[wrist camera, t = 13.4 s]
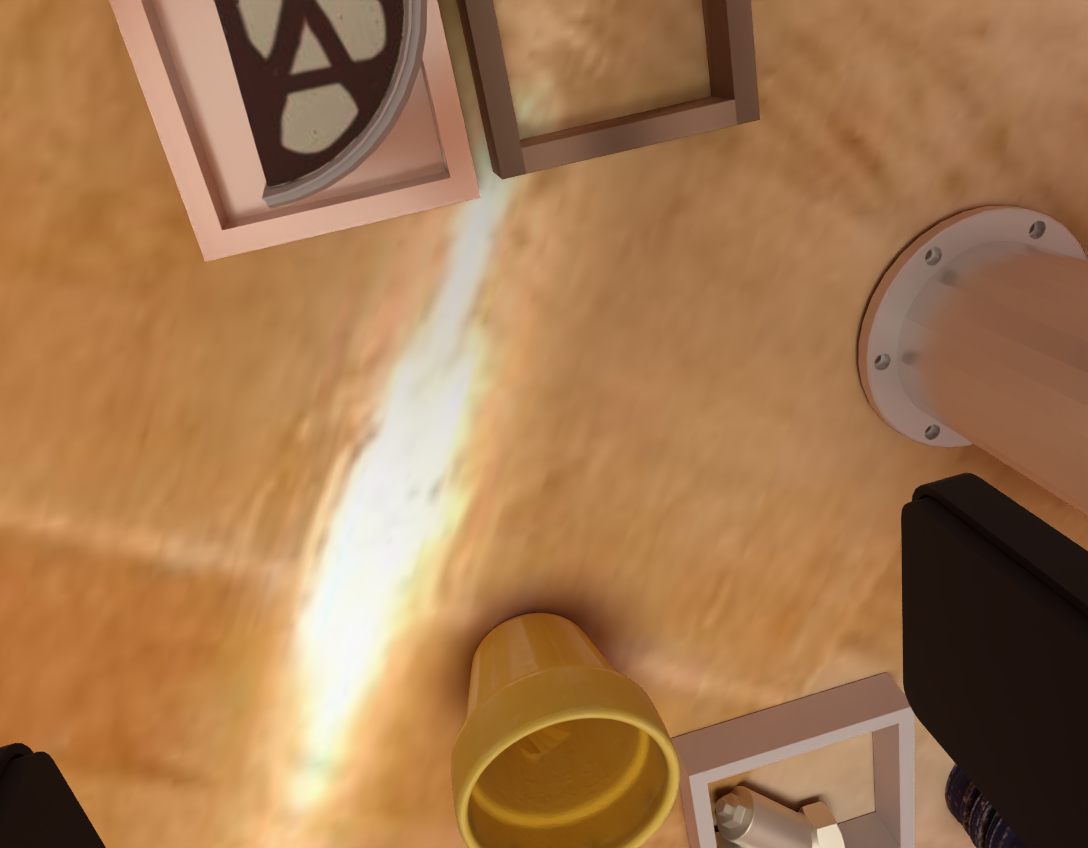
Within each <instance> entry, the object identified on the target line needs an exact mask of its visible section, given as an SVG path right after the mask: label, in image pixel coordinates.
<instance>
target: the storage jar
mask: <svg viewBox="0 0 1088 848" xmlns="http://www.w3.org/2000/svg"><path fill="white" fill-rule="evenodd" d="M945 798H946V803H947V806H948V808H949V810H950V812H951V813H952V814H953V816H954V817H955V818H956V819H957V820H958V822H959V823H961V824H962V825H963V827H964V829H965V831H966V832H967V833H968V835H969V836H970V838H971V840H972V842H973V844H974V845H975V846H976V848H1027V847H1026V846H1025V845H1024V844H1023V842H1022V841H1021V840H1020V839H1019V838H1018V836H1017V835H1016V834H1015V833H1014V832H1013V830H1012V829H1011V828H1010V827H1009V826H1008V825H1007V823H1006V822H1005V821H1004V820H1003V819H1002V817H1001V816H1000V815H999V814H998V813H997V812H996V810H995V809H994V808H993V807H992V806H991V804H990V803H989V802H988V801H987V800H986V799H985V797H984V796H983V795H982V794H981V793H980V791H979V790H978V789H977V788H976V787H975V786H974V784H973V783H972V782H971V781H970V780H969V778H968V777H967V776H966V775H965V774H964V773H963V771H962V770H961V769H960V768H959V767H958V765H957V764H955V766H954V768H953V769H952V771H951V773H950V776H949V778H948V781H947V785H946V789H945Z"/></svg>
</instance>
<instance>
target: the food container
mask: <svg viewBox="0 0 1088 848" xmlns="http://www.w3.org/2000/svg"><path fill="white" fill-rule="evenodd" d="M214 2H215V5H216V8H217V12H218V15H219V18H220V22H221V25H222V28H223V32H224V35H225V39H226V42H227V45H228V49H229V53H230V56H231V60H232V63H233V67H234V71H235V74H236V78H237V81H238V85H239V89H240V92H241V96H242V99H243V103H244V106H245V110H246V113H247V117H248V121H249V124H250V128H251V131H252V135H253V138H254V142H255V145H256V149H257V152H258V156H259V159H260V162H261V166H262V169H263V173H264V176H265V179H266V183H265V188H264V192H263V196H262V200H263V201H265V200H266V204H267V206H268V207H272V208H275V207H279V206H283V205H286V204H290V203H293V202H297V201H300V200H303V199H305V198H307V197H309V196H312V195H314V194H316V193H318V192H320V191H323V190H325V189H327V188H329V187H331V186H332V185H334V184H335V183H337V182H338V181H340V180H341V179H343V178H344V177H346V176H347V175H349V174H350V173H351V172H353V171H354V170H356V169H357V168H358V167H359V166H360V165H361V164H362V163H363V162H364V161H365V160H366V159H367V158H368V157H369V156H370V155H371V154H372V153H373V152H375V151H376V150H377V148H378V147H379V146H380V144H381V143H382V142H383V140H384V139H385V138H386V137H387V135H388V134H389V133H390V131H391V130H392V129H393V127H394V126H395V125H396V123H397V121H398V119H399V117H400V115H401V113H402V111H403V109H404V107H405V106H406V104H407V102H408V100H409V98H410V96H411V93H412V90H413V87H414V84H415V81H416V78H417V75H418V72H419V69H420V66H421V61H422V55H423V50H424V44H425V38H426V32H427V0H214Z"/></svg>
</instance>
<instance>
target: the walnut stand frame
mask: <svg viewBox="0 0 1088 848" xmlns="http://www.w3.org/2000/svg"><path fill="white" fill-rule="evenodd" d="M457 3H458V8H459V12H460V17H461V22H462V27H463V31H464V36H465V41H466V46H467V50H468V55H469V60H470V65H471V69H472V74H473V79H474V84H475V88H476V93H477V98H478V103H479V107H480V112H481V117H482V122H483V127H484V131H485V136H486V141H487V146H488V150H489V155H490V160H491V165H492V169H493V172H494V173H495V174H497V175H498V176H499V177H500V178H501V179H506V178H510V177H514V176H519V175H523V174H527V173H532V172H536V171H540V170H545V169H549V168H553V167H558V166H562V165H566V164H571V163H575V162H579V161H583V160H588V159H592V158H596V157H601V156H605V155H609V154H614V153H618V152H622V151H627V150H631V149H635V148H640V147H644V146H648V145H653V144H657V143H661V142H665V141H670V140H674V139H678V138H683V137H687V136H691V135H696V134H700V133H704V132H709V131H713V130H717V129H722V128H726V127H730V126H735V125H739V124H743V123H747V122H752V121H756V120H760V115H759V102H758V89H757V76H756V63H755V50H754V37H753V24H752V11H751V0H702V3H703V13H704V23H705V33H706V43H707V53H708V63H709V73H710V83H711V93H712V97H707V98H703V99H698V100H694V101H690V102H685V103H681V104H676V105H672V106H668V107H663V108H659V109H654V110H650V111H646V112H641V113H637V114H632V115H628V116H624V117H619V118H615V119H610V120H606V121H602V122H597V123H593V124H588V125H584V126H580V127H575V128H571V129H566V130H562V131H558V132H553V133H549V134H544V135H540V136H536V137H531V138H527V139H522V140H520V139H519V134H518V129H517V123H516V118H515V113H514V108H513V103H512V98H511V93H510V87H509V82H508V77H507V72H506V67H505V62H504V57H503V51H502V46H501V41H500V36H499V31H498V26H497V20H496V15H495V10H494V5H493V0H457Z"/></svg>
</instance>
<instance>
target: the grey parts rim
mask: <svg viewBox="0 0 1088 848" xmlns="http://www.w3.org/2000/svg"><path fill="white" fill-rule="evenodd" d="M869 732H873V754H874V784H875V812H873V813H870V814H867V815H864V816H861V817H858V818H855V819H852V820H849V821H846V822H843V823H840V824H838V826H839V829H840V831H841V834H842V837H843V840H844V845H845V848H915V730H914V712H913V711H912V709H911V707H910V705H909V703H908V700H907V698H906V695H905V694H904V693H903V692H902V691H901V689H900V688H899V687H898V686H897V685H896V684H895V682H894V681H893V680H892V679H891V678H890V677H889V675H888V674H887V673H882V674H879V675H876V676H873V677H869V678H866V679H863V680H860V681H856V682H853V683H850V684H847V685H843V686H840V687H837V688H834V689H830V690H827V691H824V692H821V693H817V694H814V695H811V696H808V697H804V698H801V699H798V700H795V701H791V702H788V703H785V704H782V705H778V706H775V707H772V708H769V709H765V710H762V711H759V712H756V713H752V714H749V715H746V716H743V717H739V718H736V719H733V720H730V721H726V722H723V723H720V724H717V725H714V726H710V727H707V728H704V729H701V730H697V731H694V732H691V733H688V734H684V735H681V736H678V737H675V738H671V739H672V743H673V745H674V748H675V750H676V753H677V756H678V760H679V765H680V783H679V786H680V792H681V798H682V804H683V810H684V816H685V822H686V827H687V833H688V839H689V845H690V848H717V845H716V838H715V831H714V825H713V818H712V811H711V805H710V798H709V791H708V785H707V784H708V783H711V782H714V781H717V780H720V779H723V778H727V777H730V776H733V775H736V774H739V773H742V772H746V771H749V770H752V769H755V768H758V767H761V766H765V765H768V764H771V763H774V762H777V761H781V760H784V759H787V758H790V757H793V756H796V755H800V754H803V753H806V752H809V751H812V750H815V749H819V748H822V747H825V746H828V745H831V744H834V743H838V742H841V741H844V740H847V739H850V738H853V737H857V736H860V735H863V734H866V733H869Z"/></svg>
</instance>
